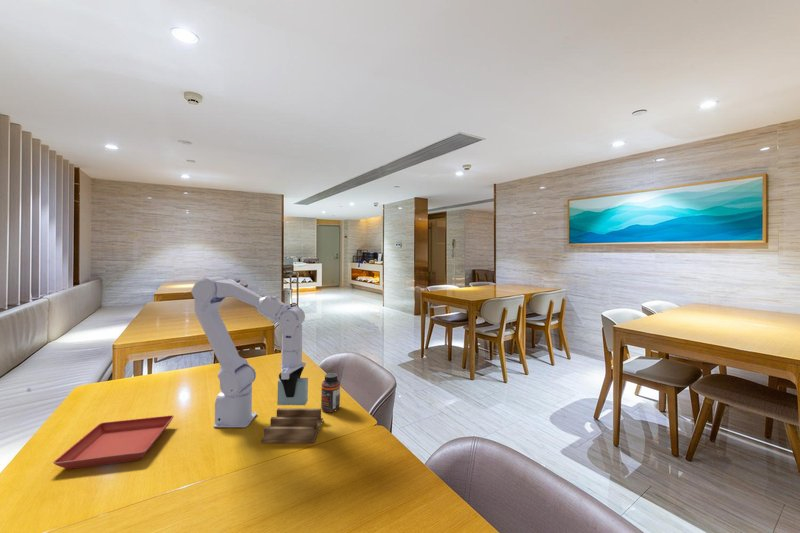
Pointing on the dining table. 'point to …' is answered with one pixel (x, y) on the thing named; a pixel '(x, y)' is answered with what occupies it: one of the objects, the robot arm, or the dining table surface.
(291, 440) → the rack
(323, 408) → the supplement bottle
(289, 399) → the grey-green rectangular block
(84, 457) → the plant saucer
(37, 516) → the dining table surface
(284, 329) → the robot arm
